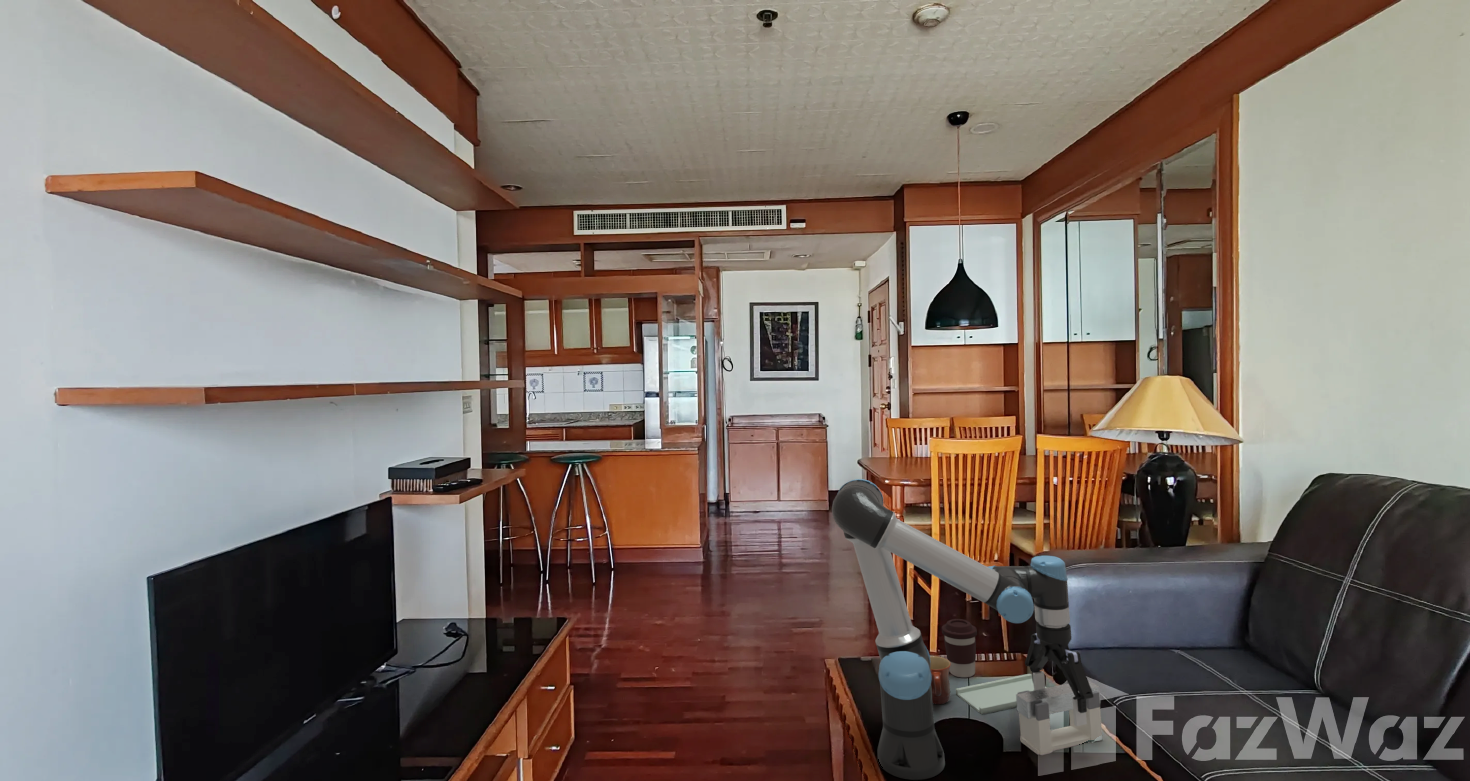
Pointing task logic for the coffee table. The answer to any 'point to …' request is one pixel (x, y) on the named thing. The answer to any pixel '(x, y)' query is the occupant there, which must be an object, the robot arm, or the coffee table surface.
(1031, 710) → the rail
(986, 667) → the coffee table surface
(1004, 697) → the pad
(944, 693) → the mug
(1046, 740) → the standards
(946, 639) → the coffee cup
